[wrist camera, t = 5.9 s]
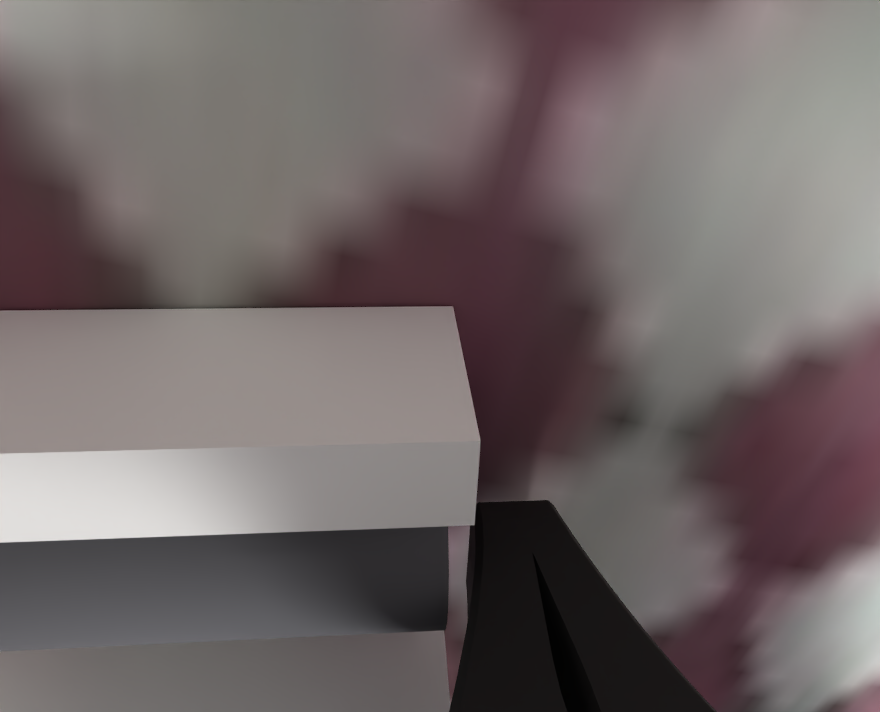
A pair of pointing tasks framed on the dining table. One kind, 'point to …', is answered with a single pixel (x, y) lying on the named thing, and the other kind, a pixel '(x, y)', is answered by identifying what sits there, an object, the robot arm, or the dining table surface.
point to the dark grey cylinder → (222, 587)
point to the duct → (233, 480)
